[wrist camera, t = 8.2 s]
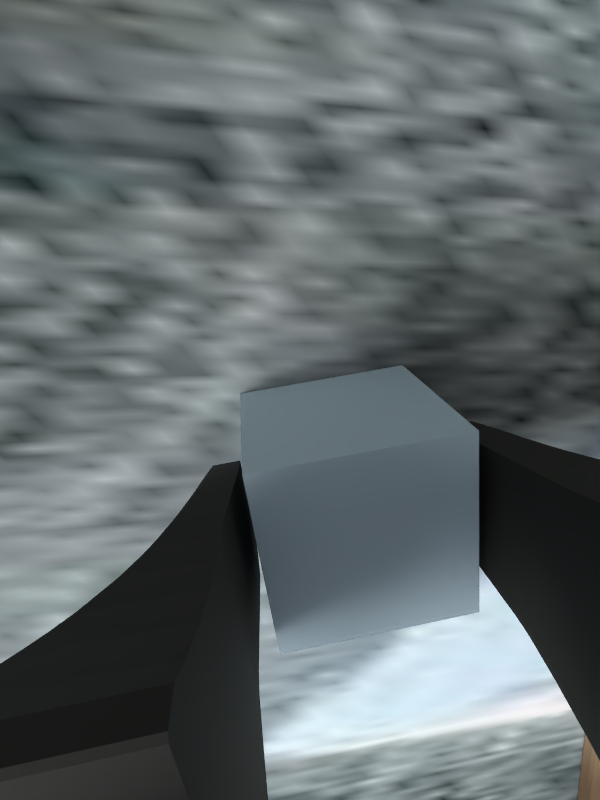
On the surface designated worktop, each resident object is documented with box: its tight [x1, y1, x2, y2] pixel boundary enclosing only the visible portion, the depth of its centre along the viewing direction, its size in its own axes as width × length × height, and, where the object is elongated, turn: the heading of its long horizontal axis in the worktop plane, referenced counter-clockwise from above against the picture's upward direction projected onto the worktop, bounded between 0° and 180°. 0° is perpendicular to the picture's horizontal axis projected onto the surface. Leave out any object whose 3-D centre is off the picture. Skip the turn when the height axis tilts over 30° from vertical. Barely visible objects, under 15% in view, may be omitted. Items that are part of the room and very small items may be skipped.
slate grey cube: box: [240, 365, 479, 654], centre depth 10 cm, size 4×4×4 cm
